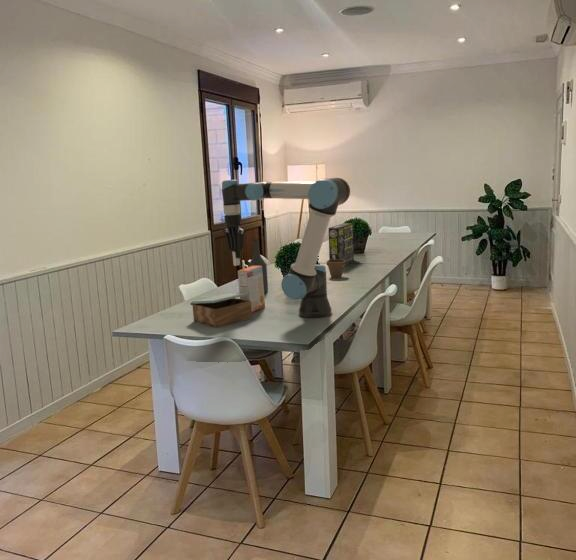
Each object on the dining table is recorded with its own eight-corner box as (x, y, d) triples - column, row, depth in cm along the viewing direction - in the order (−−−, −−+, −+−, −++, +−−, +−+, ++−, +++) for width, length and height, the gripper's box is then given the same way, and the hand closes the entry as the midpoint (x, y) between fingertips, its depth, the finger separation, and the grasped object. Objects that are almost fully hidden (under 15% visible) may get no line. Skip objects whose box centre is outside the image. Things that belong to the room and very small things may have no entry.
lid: (249, 294, 267) (249, 292, 267) (213, 302, 254) (213, 300, 254) (227, 295, 280) (227, 293, 280) (192, 303, 267) (192, 301, 267)
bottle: (251, 290, 330) (247, 237, 324) (268, 290, 329) (265, 237, 323) (249, 294, 319) (245, 240, 314) (267, 293, 319) (263, 239, 313)
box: (344, 260, 417) (343, 222, 412) (354, 260, 414) (353, 222, 409) (329, 268, 387) (327, 228, 382) (340, 268, 384) (338, 228, 379)
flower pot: (350, 276, 355) (349, 260, 353) (337, 279, 348) (336, 262, 346) (336, 274, 364) (335, 258, 362) (323, 277, 356) (322, 261, 354)
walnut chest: (252, 318, 269) (251, 299, 267) (215, 327, 255) (214, 308, 254) (228, 311, 283) (226, 294, 281) (192, 320, 270) (190, 302, 268)
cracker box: (255, 306, 291) (252, 265, 287) (265, 307, 289) (262, 265, 285) (240, 313, 279) (236, 270, 275) (250, 314, 276) (247, 270, 272)
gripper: (247, 213, 265) (252, 264, 269) (229, 213, 274) (234, 263, 278) (235, 215, 259) (239, 267, 264) (217, 215, 269) (221, 265, 273)
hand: (236, 265), depth 271 cm, fingers closed
